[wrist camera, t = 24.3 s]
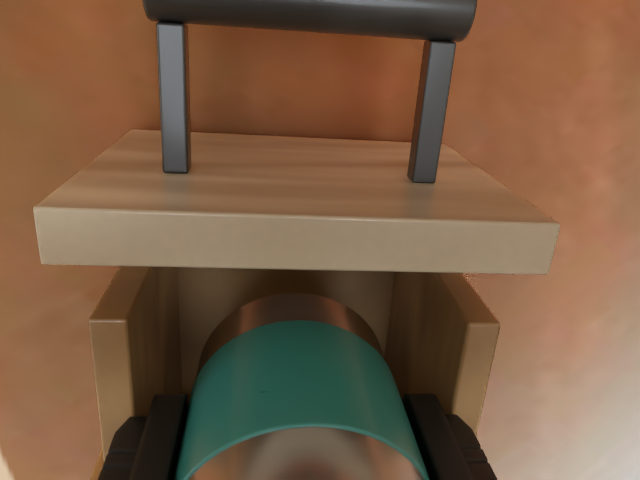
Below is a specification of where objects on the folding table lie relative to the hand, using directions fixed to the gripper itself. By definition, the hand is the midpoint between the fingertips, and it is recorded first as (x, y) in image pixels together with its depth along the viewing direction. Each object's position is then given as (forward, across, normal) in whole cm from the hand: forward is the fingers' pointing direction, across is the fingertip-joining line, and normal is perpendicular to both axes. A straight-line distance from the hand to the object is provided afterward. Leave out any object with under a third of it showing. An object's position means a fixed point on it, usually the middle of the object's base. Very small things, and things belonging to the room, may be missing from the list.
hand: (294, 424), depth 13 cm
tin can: (+2, 0, 0) cm, 2 cm away
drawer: (+7, 0, -1) cm, 7 cm away
